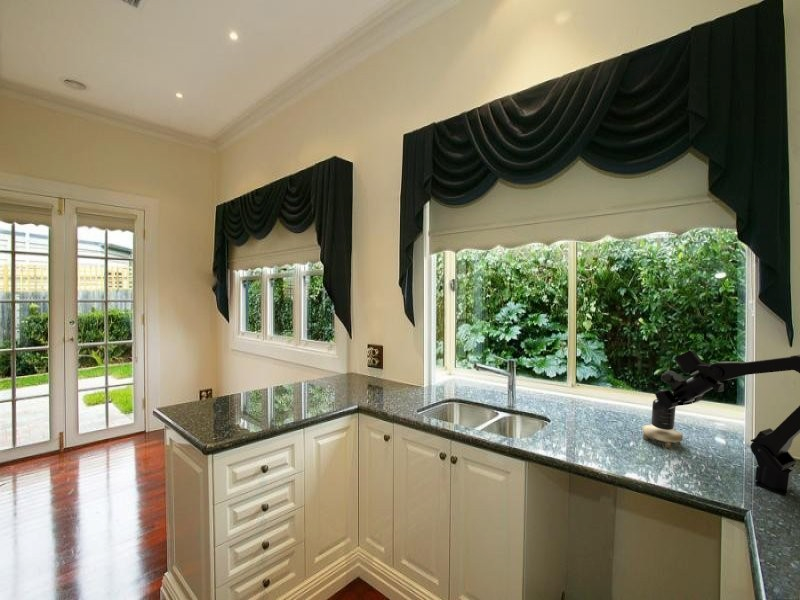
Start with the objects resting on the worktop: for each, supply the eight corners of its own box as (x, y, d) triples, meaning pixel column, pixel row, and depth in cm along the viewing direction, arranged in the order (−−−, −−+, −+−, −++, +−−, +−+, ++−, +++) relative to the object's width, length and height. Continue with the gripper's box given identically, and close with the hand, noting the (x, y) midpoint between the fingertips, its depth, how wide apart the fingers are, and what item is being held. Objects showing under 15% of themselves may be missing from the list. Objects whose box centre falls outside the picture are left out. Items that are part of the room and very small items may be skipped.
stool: (688, 443, 136) (688, 434, 136) (672, 451, 130) (673, 442, 130) (651, 431, 147) (652, 422, 146) (635, 438, 140) (636, 428, 140)
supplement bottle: (648, 421, 142) (651, 389, 141) (670, 424, 140) (673, 392, 139) (653, 428, 136) (656, 395, 135) (676, 431, 133) (679, 398, 132)
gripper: (694, 362, 136) (660, 384, 147) (662, 368, 128) (628, 390, 139) (718, 390, 130) (681, 411, 140) (687, 398, 122) (649, 419, 132)
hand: (659, 407), depth 138 cm, fingers closed on supplement bottle, 7 cm apart
